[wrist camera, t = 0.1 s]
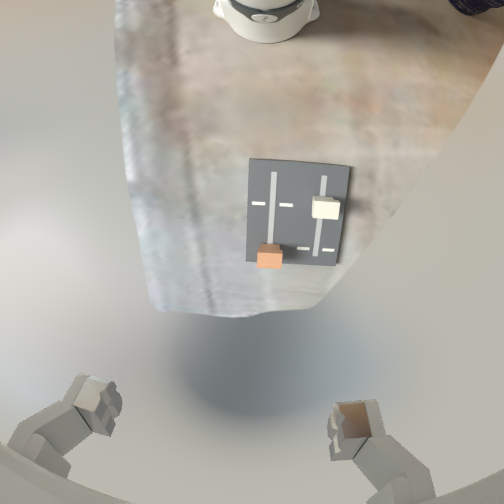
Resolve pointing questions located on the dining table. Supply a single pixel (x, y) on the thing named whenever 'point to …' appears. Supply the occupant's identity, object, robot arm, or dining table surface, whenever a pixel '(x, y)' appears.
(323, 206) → the cream fader
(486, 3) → the storage jar
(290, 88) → the dining table surface
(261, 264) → the terracotta fader
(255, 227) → the console
